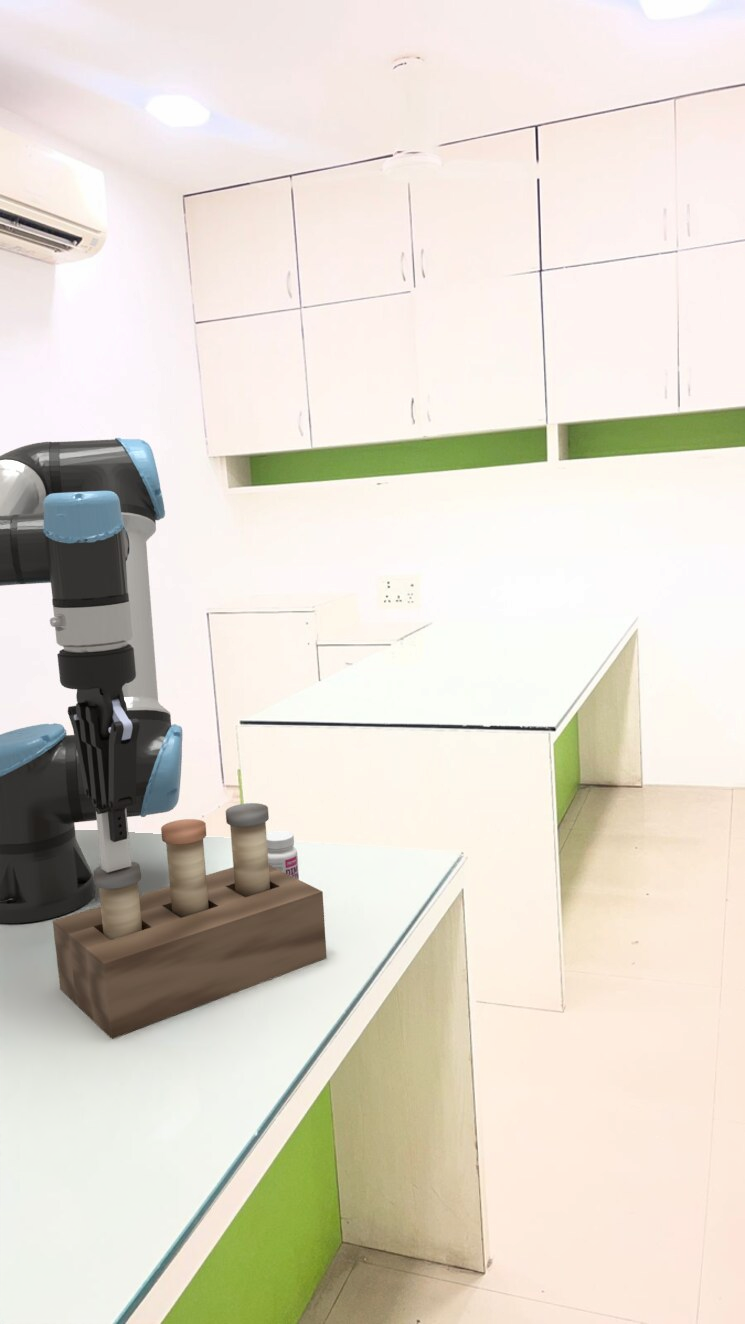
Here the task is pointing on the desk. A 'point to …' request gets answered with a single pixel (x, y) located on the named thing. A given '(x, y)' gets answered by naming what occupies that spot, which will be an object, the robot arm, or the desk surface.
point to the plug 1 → (119, 900)
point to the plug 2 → (249, 847)
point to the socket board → (188, 950)
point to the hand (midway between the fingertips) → (116, 867)
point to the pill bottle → (282, 852)
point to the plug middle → (186, 865)
